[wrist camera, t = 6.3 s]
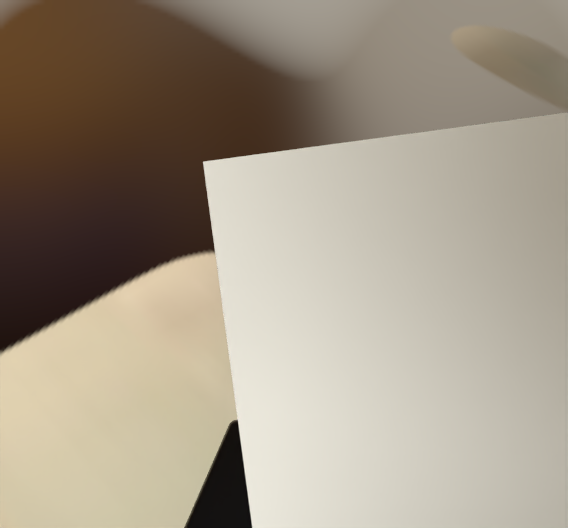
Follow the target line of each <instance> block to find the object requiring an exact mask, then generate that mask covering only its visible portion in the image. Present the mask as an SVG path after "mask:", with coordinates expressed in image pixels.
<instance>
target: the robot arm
mask: <svg viewBox="0 0 568 528" xmlns="http://www.w3.org/2000/svg"><path fill="white" fill-rule="evenodd" d="M184 528H252V522H251V514H250V507H249V499H248V492H247V485H246V477H245V470H244V462H243V455H242V447H241V440H240V432H239V425H238V420H234V421H232V422H231V423H230V424H229V426H228V429H227V431H226V433H225V435H224V438H223V440H222V442H221V445H220V447H219V449H218V452H217V454H216V456H215V458H214V461H213V463H212V465H211V468H210V470H209V472H208V475H207V477H206V479H205V481H204V484H203V486H202V488H201V491H200V493H199V495H198V498H197V500H196V502H195V504H194V507H193V509H192V511H191V514H190V516H189V518H188V520H187V523H186V525H185V527H184Z"/></svg>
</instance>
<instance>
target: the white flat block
mask: <svg viewBox="0 0 568 528" xmlns="http://www.w3.org/2000/svg"><path fill="white" fill-rule="evenodd" d="M203 165H204V172H205V180H206V187H207V194H208V201H209V209H210V217H211V224H212V231H213V239H214V247H215V254H216V261H217V269H218V276H219V284H220V291H221V299H222V306H223V313H224V321H225V328H226V336H227V343H228V351H229V358H230V366H231V373H232V380H233V388H234V395H235V403H236V410H237V418H238V425H239V432H240V440H241V447H242V455H243V462H244V470H245V477H246V485H247V492H248V499H249V507H250V514H251V522H252V528H568V112H565V113H558V114H551V115H543V116H536V117H528V118H521V119H514V120H507V121H499V122H492V123H484V124H477V125H470V126H462V127H455V128H449V129H440V130H433V131H426V132H419V133H411V134H404V135H396V136H390V137H382V138H375V139H367V140H360V141H352V142H345V143H338V144H331V145H323V146H316V147H309V148H301V149H294V150H286V151H279V152H272V153H265V154H257V155H250V156H242V157H235V158H228V159H220V160H213V161H206V162H203Z"/></svg>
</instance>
